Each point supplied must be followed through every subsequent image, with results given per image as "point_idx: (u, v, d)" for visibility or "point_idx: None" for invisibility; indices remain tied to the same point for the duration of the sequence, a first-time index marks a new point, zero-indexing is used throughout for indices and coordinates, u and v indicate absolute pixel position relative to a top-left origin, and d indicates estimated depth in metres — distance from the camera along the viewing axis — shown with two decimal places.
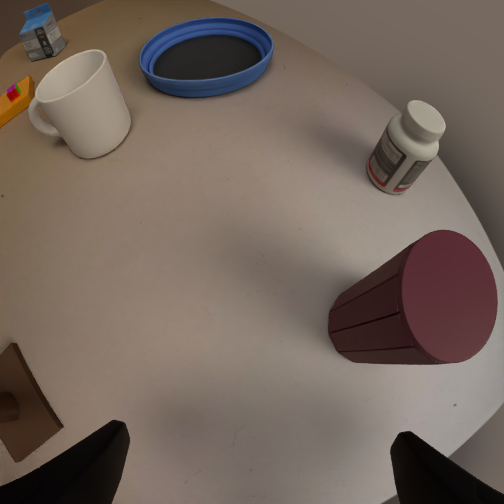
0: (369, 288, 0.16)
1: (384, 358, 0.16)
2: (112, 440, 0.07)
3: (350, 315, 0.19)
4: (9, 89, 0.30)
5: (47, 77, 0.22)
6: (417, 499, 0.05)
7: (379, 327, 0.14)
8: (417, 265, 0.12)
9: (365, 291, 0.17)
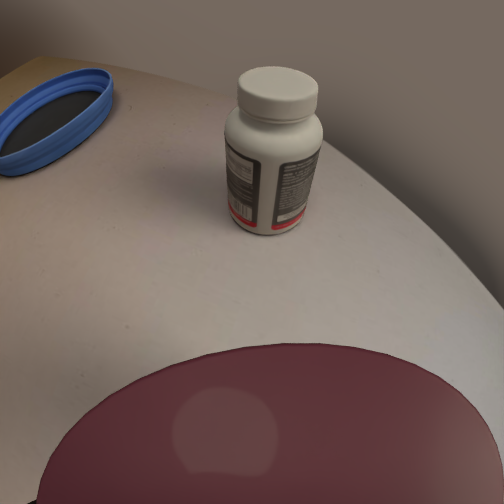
0: None
1: None
2: None
3: None
4: None
5: None
6: None
7: None
8: None
9: None
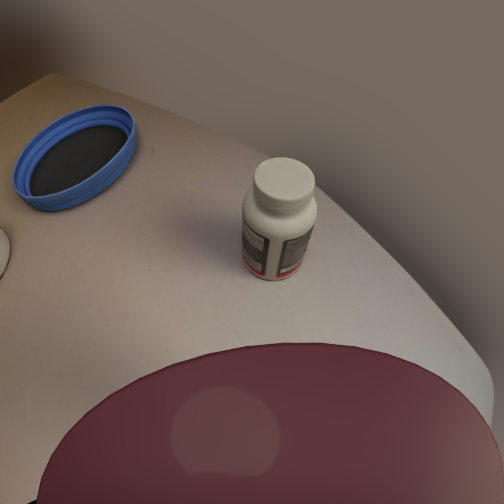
0: None
1: None
2: None
3: None
4: None
5: None
6: None
7: None
8: None
9: None
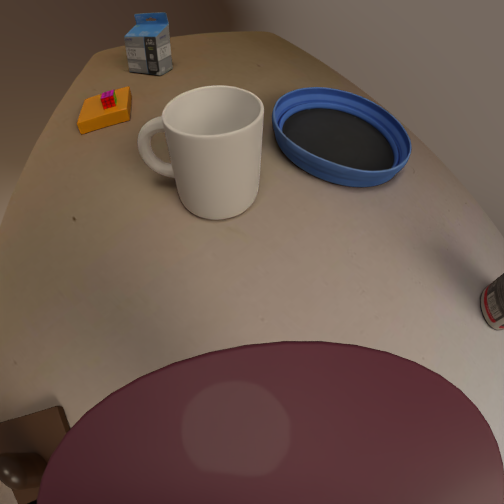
0: None
1: None
2: None
3: None
4: (105, 94, 0.35)
5: (177, 100, 0.23)
6: None
7: None
8: None
9: None
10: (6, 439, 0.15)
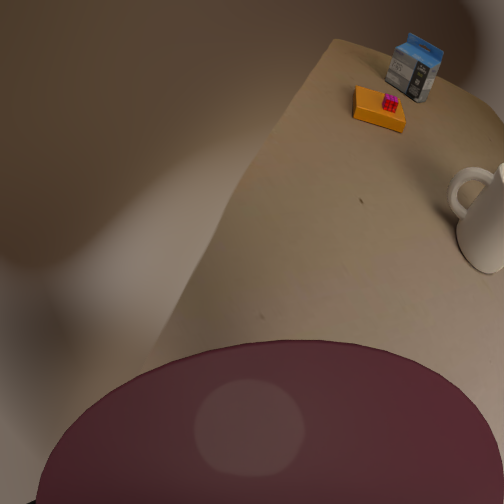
0: None
1: None
2: None
3: None
4: (389, 96, 0.37)
5: (502, 167, 0.22)
6: None
7: None
8: None
9: None
10: None
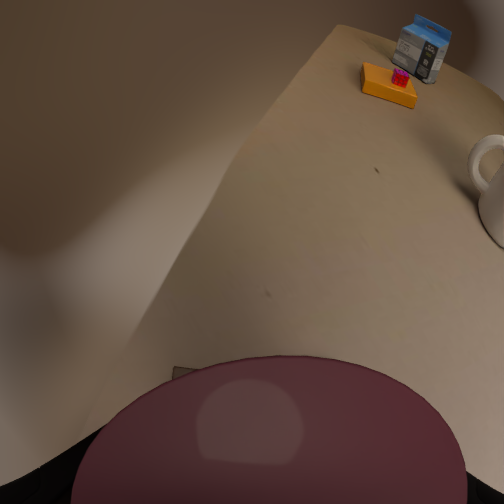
0: None
1: None
2: None
3: None
4: (399, 71, 0.33)
5: None
6: None
7: None
8: (108, 494, 0.03)
9: None
10: None
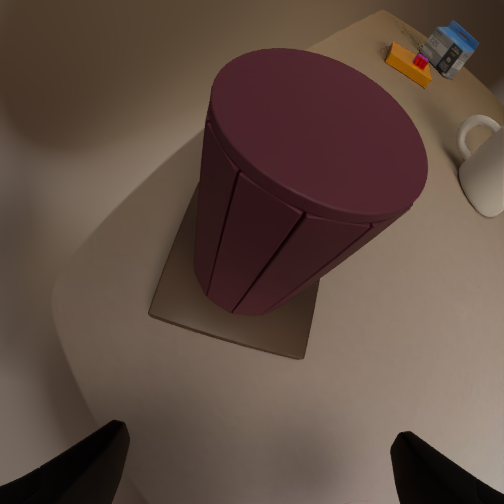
0: None
1: (239, 267, 0.11)
2: (112, 440, 0.07)
3: None
4: (421, 56, 0.35)
5: None
6: (417, 499, 0.05)
7: (205, 186, 0.09)
8: (249, 67, 0.08)
9: None
10: None
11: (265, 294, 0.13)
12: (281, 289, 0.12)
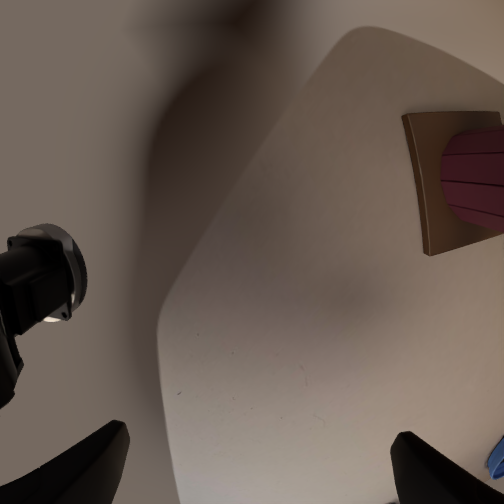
0: None
1: None
2: (112, 440, 0.07)
3: None
4: None
5: None
6: (417, 499, 0.05)
7: None
8: None
9: None
10: None
11: (493, 198, 0.12)
12: None
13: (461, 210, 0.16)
